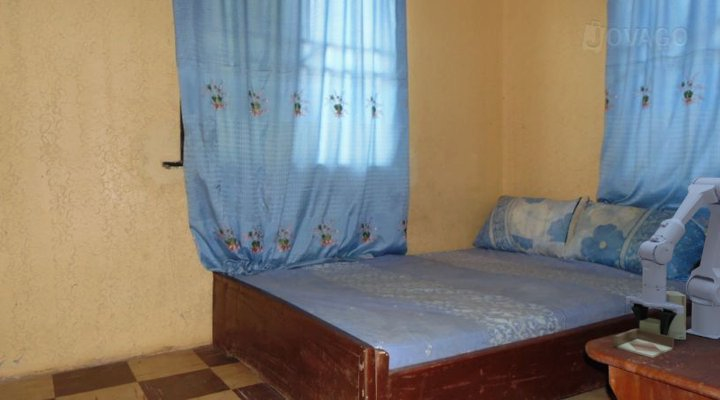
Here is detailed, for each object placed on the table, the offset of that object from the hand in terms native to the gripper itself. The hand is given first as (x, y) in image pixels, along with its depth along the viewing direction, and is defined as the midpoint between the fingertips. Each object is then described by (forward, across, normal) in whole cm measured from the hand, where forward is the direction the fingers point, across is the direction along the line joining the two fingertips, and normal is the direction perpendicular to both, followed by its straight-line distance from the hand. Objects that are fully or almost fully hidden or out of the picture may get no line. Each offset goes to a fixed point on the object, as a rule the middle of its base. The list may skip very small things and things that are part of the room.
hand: (653, 334), depth 147 cm
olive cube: (+1, 0, 0) cm, 1 cm away
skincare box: (+2, +2, +7) cm, 7 cm away
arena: (+1, +2, -9) cm, 9 cm away
